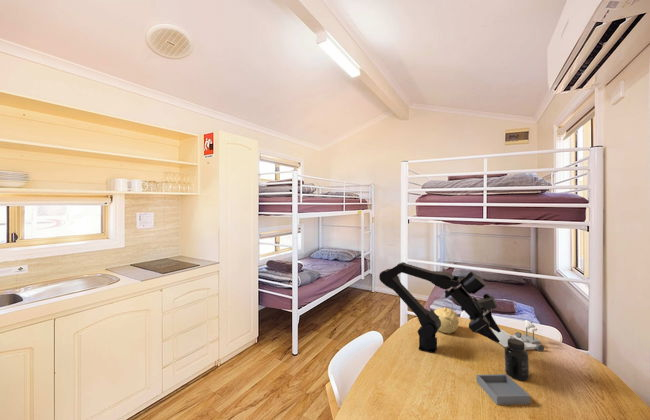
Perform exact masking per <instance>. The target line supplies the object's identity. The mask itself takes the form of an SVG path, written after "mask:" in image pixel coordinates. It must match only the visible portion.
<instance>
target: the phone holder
mask: <svg viewBox="0 0 650 420" xmlns="http://www.w3.org/2000/svg"><path fill="white" fill-rule="evenodd" d="M524 326H525V334H522V333H521V332H519V331H516V332H514V334H510V333H508V332H507V331H505V330H503V329H502V328H500V330H501V332H499V333H498V332H497V331H495V330H494V329H492V328H491V330H492V331H493V332H494V334H495V335H496V336H497V338H498V339H499V340H500V342H498V343H499V344H500V345H502V346H503V347H504V348H505V347H506V346H508V339H510V338H512V339H518V340H521V341H522V342H524V346H525V349H524V350H525V351H527V350H536V351H538V352H543V351H544V350H545V347H544V345H543V344H541V340H539V339H538V338H536V337H535V332H537V330H538V328H536V325H535V324H533V320H531V321H529V320H528V319H525V323H524ZM528 329H529V331H530V332H532V335H530V334H528ZM498 343H497V344H498Z"/></svg>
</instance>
